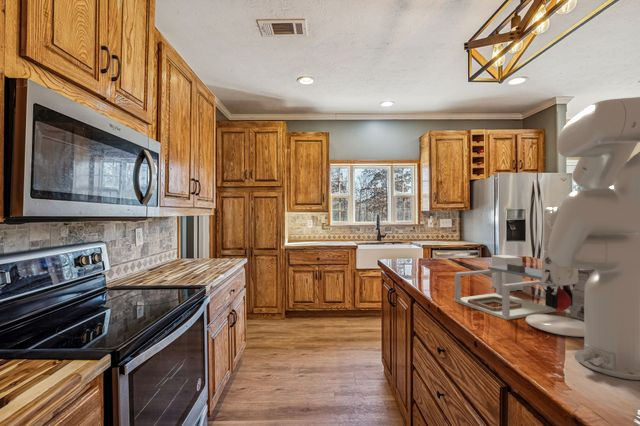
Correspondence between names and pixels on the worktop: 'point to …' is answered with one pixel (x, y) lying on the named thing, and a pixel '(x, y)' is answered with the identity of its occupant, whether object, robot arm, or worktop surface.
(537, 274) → the slide cover
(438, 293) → the worktop surface
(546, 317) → the plate
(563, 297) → the onion
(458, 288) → the white tiered shelf stand
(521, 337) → the worktop surface
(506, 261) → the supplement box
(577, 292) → the coffee box
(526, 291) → the worktop surface
